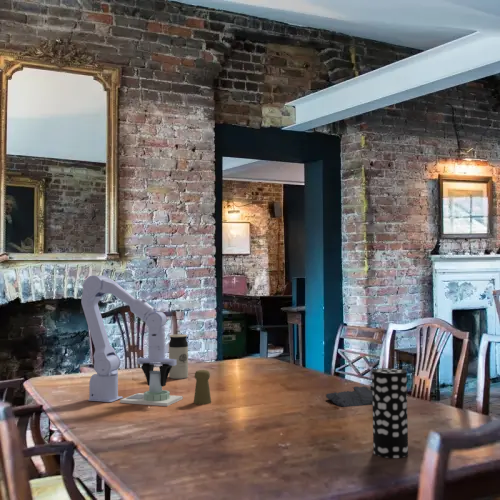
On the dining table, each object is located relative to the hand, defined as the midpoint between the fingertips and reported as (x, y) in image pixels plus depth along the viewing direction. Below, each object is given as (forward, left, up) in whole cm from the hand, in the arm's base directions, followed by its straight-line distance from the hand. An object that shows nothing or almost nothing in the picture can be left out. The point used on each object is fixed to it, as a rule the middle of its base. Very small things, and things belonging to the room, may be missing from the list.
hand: (156, 385), depth 211 cm
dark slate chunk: (+67, +22, -6) cm, 70 cm away
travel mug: (-14, +45, -6) cm, 47 cm away
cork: (+16, +3, -6) cm, 17 cm away
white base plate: (-2, 0, -5) cm, 6 cm away
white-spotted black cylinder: (+84, -36, -6) cm, 92 cm away
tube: (0, -1, -2) cm, 2 cm away
